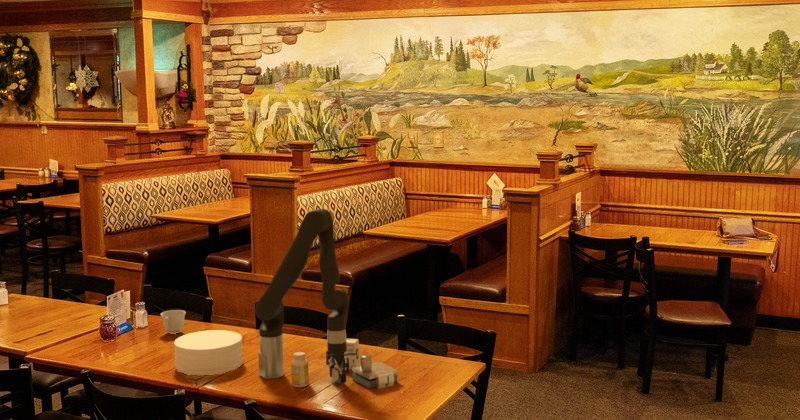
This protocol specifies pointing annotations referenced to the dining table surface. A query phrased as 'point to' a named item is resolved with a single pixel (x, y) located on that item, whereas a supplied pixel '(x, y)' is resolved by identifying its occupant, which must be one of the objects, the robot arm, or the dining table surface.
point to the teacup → (173, 320)
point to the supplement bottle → (299, 370)
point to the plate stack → (208, 352)
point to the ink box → (352, 352)
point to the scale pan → (375, 370)
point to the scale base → (376, 380)
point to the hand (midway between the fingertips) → (338, 379)
